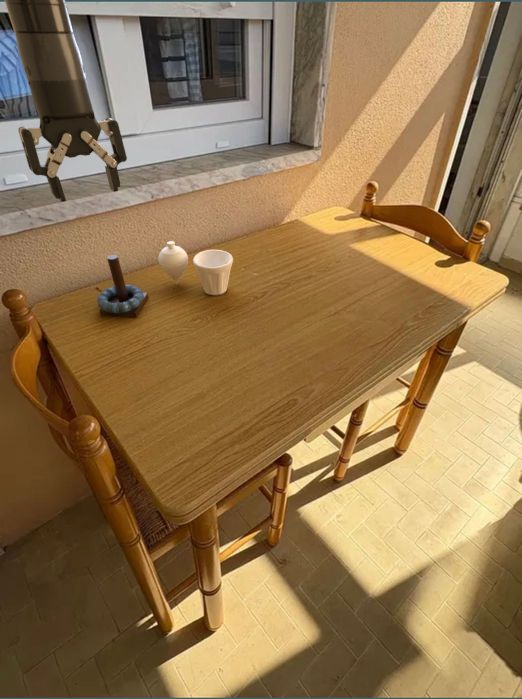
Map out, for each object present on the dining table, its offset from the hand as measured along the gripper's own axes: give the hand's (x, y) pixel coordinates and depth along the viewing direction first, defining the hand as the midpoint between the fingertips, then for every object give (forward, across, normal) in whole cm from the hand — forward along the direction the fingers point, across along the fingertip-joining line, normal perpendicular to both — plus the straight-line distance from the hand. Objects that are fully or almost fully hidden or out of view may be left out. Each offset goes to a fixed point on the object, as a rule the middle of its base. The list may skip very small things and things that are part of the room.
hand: (89, 195), depth 63 cm
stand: (+32, -5, -15) cm, 36 cm away
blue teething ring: (+30, -4, -15) cm, 34 cm away
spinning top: (+32, -20, -18) cm, 42 cm away
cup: (+32, -27, -9) cm, 43 cm away
